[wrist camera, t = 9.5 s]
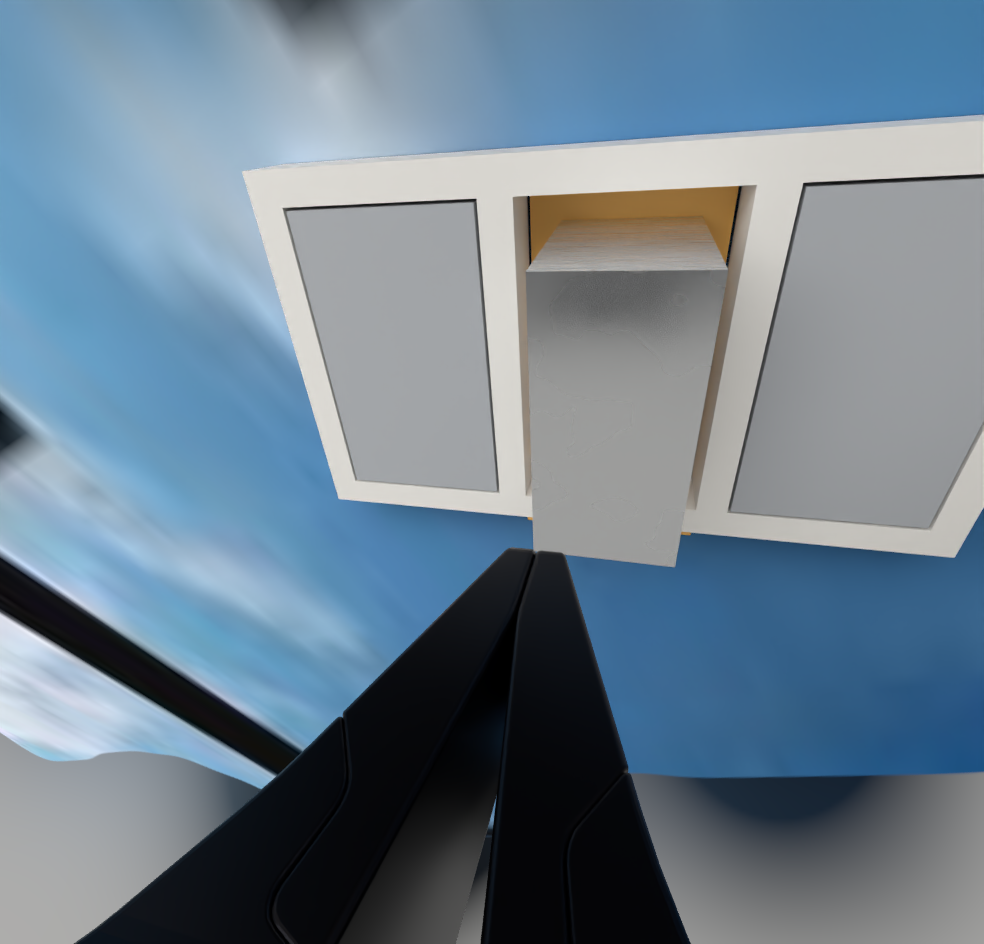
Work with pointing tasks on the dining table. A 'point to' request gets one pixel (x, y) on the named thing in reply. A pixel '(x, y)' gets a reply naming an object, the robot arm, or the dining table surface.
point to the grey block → (619, 381)
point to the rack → (740, 337)
